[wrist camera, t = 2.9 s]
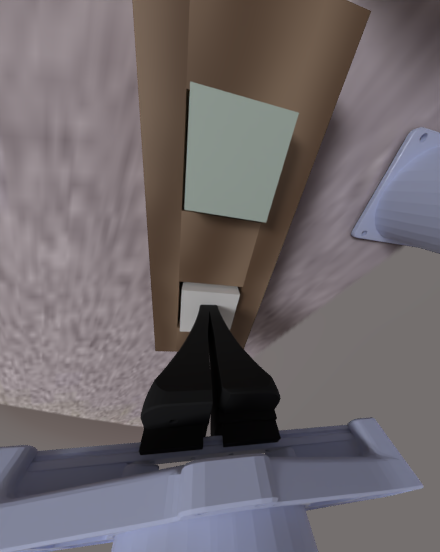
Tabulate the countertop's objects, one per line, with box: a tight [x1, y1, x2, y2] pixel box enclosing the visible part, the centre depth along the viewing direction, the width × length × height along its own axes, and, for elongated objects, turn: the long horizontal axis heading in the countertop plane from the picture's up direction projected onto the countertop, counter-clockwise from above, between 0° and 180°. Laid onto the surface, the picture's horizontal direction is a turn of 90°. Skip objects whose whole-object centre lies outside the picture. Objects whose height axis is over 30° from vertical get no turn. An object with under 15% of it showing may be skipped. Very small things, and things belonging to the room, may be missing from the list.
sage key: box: [184, 81, 299, 223], centre depth 8 cm, size 4×4×3 cm
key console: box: [132, 0, 371, 351], centre depth 13 cm, size 9×22×4 cm, turn 171°
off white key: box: [180, 282, 240, 332], centre depth 14 cm, size 4×4×3 cm
